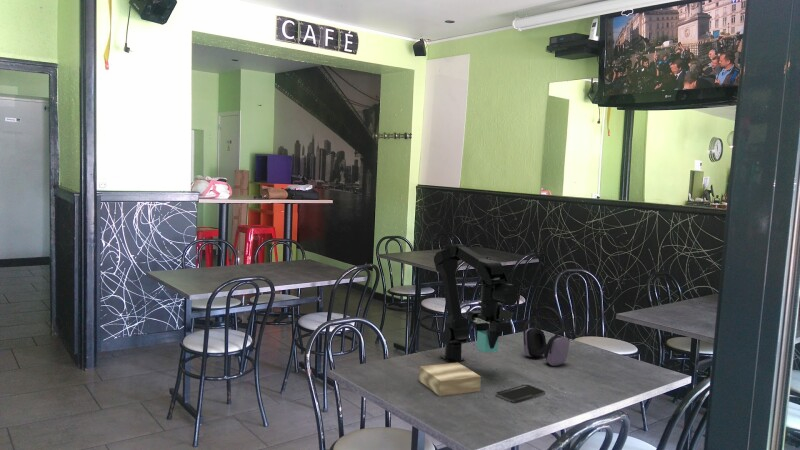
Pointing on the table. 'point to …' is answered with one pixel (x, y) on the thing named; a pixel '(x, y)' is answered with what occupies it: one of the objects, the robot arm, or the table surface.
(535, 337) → the headphones
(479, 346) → the teal cube
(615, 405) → the table surface
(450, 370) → the oak box
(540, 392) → the phone
